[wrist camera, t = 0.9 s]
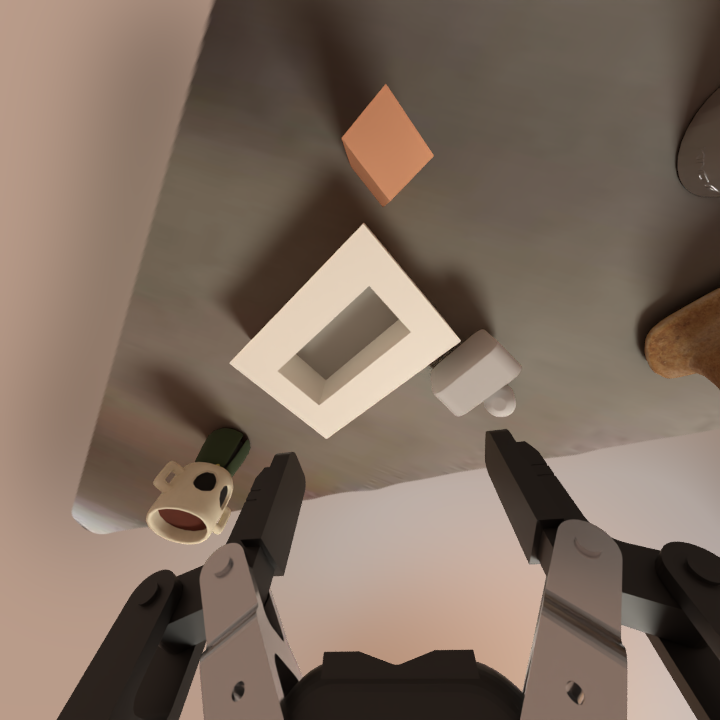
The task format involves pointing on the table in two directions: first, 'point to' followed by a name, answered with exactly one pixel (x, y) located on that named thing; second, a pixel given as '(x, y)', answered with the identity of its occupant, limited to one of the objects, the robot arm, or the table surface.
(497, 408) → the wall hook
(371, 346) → the well block
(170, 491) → the character mug
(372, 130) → the orange block
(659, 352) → the brown boot-shaped piece
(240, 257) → the table surface
